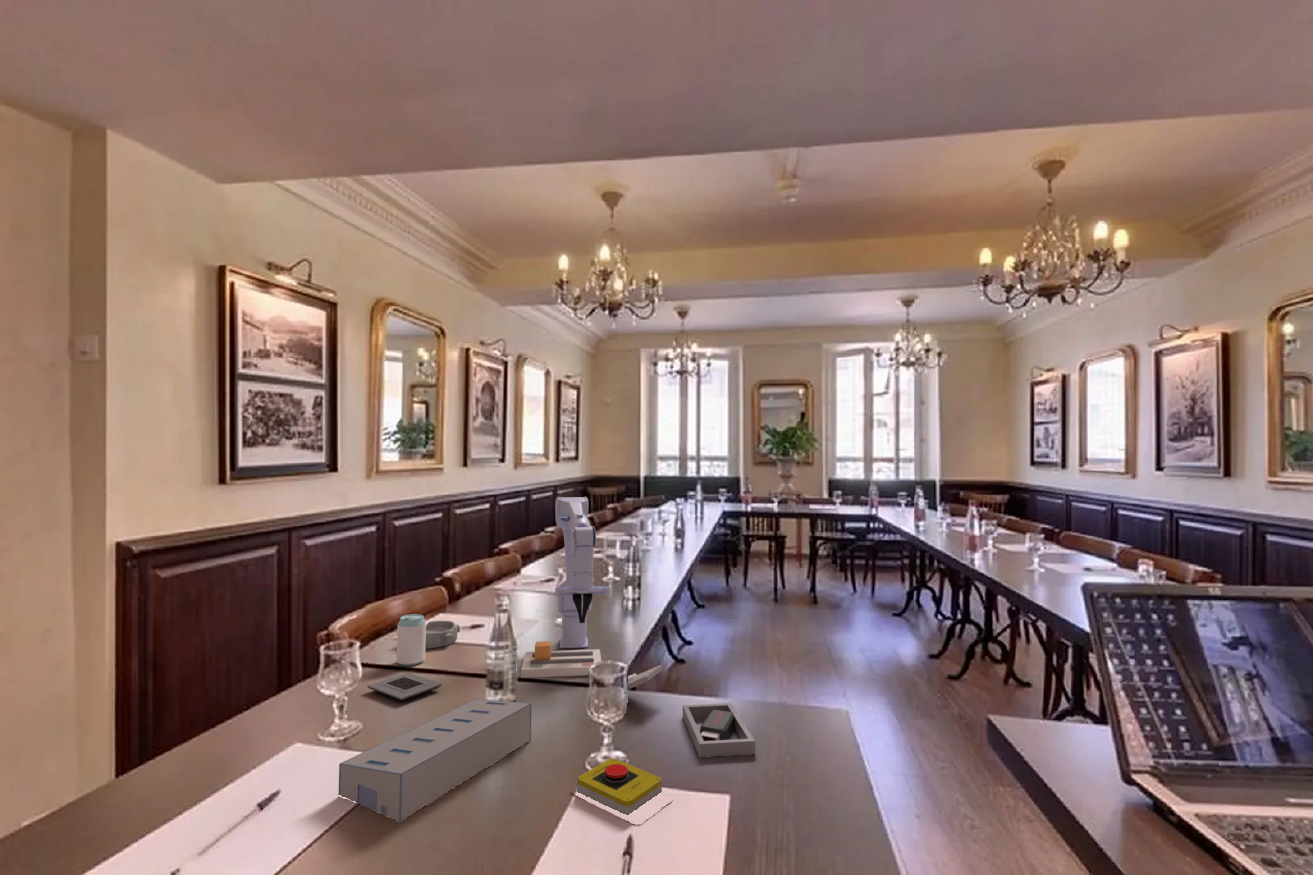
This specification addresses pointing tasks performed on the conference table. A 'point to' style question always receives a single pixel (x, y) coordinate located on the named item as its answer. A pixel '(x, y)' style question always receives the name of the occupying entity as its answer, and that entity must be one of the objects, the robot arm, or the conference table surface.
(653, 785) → the emergency button
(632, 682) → the light switch
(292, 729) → the conference table surface
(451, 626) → the dish
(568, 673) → the plate
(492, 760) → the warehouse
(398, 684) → the electrical outlet
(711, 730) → the usb drive
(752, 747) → the desk tray
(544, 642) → the orange cube
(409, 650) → the can
